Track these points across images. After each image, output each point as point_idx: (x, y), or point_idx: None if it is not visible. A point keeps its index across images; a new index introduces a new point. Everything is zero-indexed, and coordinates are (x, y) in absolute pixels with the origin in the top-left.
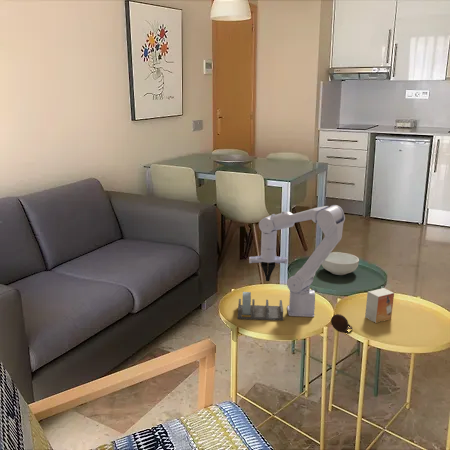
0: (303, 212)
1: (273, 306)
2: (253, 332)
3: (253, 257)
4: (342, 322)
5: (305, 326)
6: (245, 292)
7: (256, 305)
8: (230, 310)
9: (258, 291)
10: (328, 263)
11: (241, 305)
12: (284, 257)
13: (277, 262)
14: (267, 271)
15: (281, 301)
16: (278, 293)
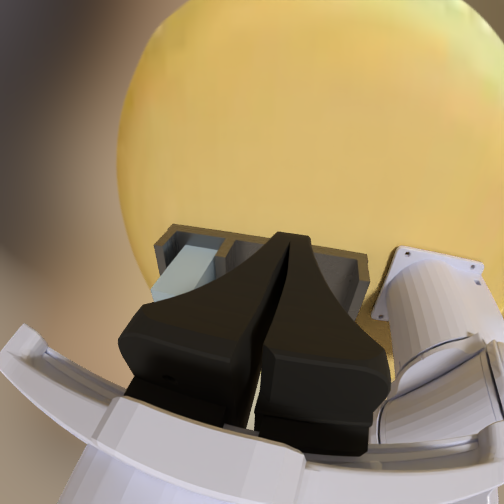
0: None
1: (327, 259)
2: None
3: (20, 378)
4: None
5: (391, 362)
6: (163, 297)
7: (245, 242)
8: (151, 247)
9: (269, 34)
10: None
11: (180, 237)
12: (496, 486)
13: (385, 457)
14: (260, 369)
15: (363, 293)
16: (393, 69)
